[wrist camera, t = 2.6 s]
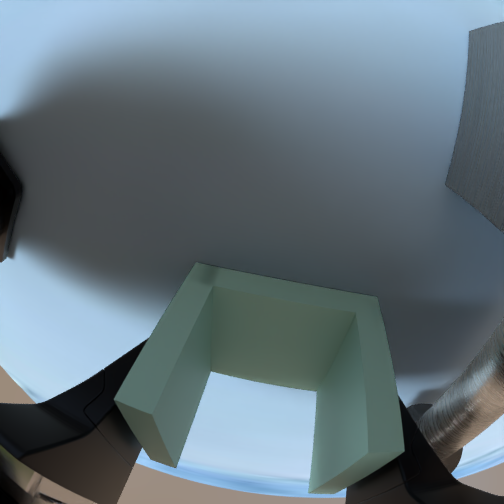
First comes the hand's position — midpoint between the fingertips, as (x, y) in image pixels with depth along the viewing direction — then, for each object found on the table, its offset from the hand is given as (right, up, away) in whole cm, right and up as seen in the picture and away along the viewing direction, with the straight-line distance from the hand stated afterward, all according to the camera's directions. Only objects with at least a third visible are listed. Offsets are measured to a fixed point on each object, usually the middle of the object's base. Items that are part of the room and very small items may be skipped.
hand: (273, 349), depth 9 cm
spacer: (0, +1, +1) cm, 1 cm away
